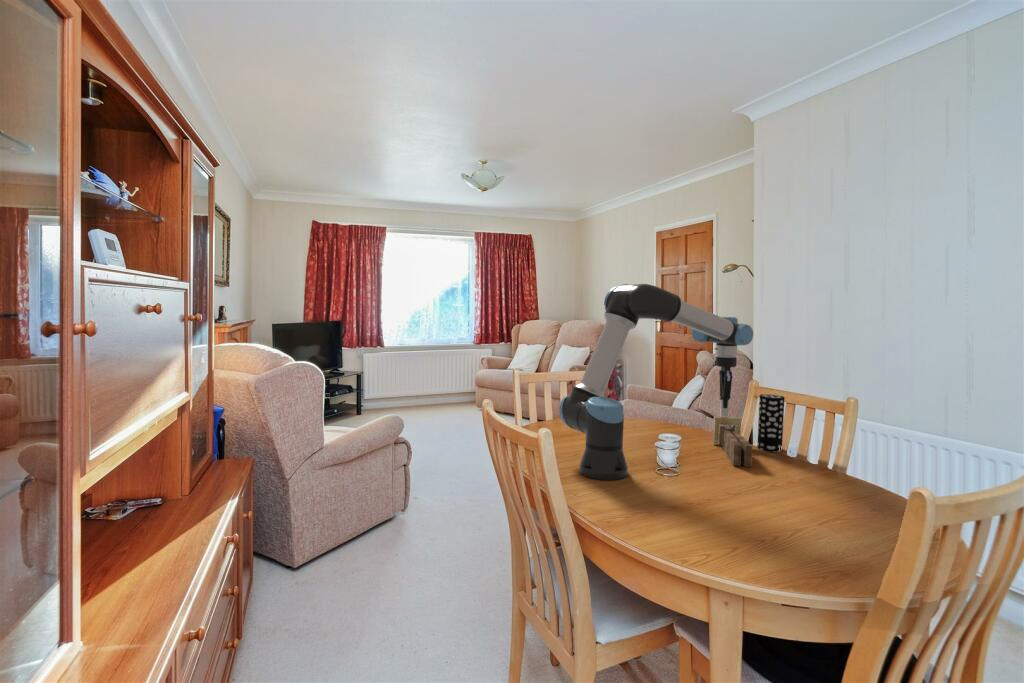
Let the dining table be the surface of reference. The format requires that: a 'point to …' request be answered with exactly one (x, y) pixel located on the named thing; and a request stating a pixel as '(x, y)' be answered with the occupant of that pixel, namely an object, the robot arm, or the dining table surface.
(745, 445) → the jaw
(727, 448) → the jaw
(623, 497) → the dining table surface
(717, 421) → the lock cuff
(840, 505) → the dining table surface
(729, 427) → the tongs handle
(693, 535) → the dining table surface
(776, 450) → the white-spotted black cylinder
